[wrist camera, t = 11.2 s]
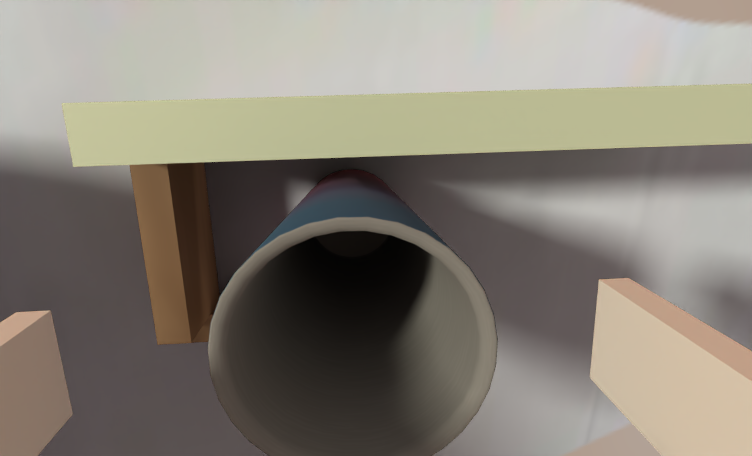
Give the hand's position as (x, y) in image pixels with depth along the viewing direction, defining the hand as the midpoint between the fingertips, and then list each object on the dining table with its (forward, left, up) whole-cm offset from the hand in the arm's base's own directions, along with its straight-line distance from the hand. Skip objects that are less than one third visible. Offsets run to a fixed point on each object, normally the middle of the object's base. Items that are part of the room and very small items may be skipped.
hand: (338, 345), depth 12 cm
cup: (0, 0, -15) cm, 15 cm away
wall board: (+3, +5, -15) cm, 16 cm away
